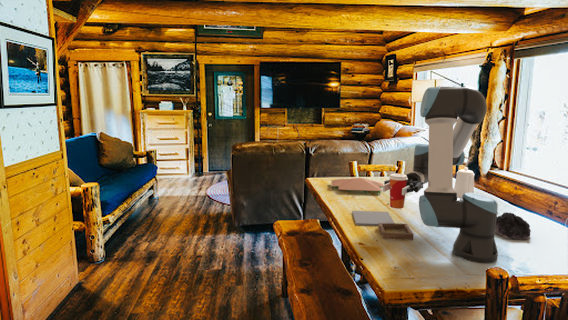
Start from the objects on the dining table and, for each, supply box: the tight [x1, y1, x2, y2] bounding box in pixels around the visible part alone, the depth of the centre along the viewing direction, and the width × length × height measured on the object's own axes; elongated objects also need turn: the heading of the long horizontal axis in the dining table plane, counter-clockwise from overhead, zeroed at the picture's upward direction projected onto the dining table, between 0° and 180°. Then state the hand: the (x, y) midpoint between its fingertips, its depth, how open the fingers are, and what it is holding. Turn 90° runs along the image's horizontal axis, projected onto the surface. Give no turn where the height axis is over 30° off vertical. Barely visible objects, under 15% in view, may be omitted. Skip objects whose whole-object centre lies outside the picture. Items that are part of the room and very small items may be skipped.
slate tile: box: [352, 210, 395, 227], centre depth 174 cm, size 18×18×1 cm
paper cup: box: [388, 173, 408, 210], centre depth 152 cm, size 8×8×14 cm
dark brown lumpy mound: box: [495, 212, 532, 240], centre depth 154 cm, size 13×14×10 cm
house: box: [330, 177, 384, 195], centre depth 226 cm, size 23×33×8 cm
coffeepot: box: [453, 166, 476, 197], centre depth 205 cm, size 11×25×19 cm, turn 168°
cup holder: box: [377, 222, 414, 241], centre depth 155 cm, size 12×12×2 cm
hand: (393, 190), depth 148 cm, fingers closed on paper cup, 8 cm apart
